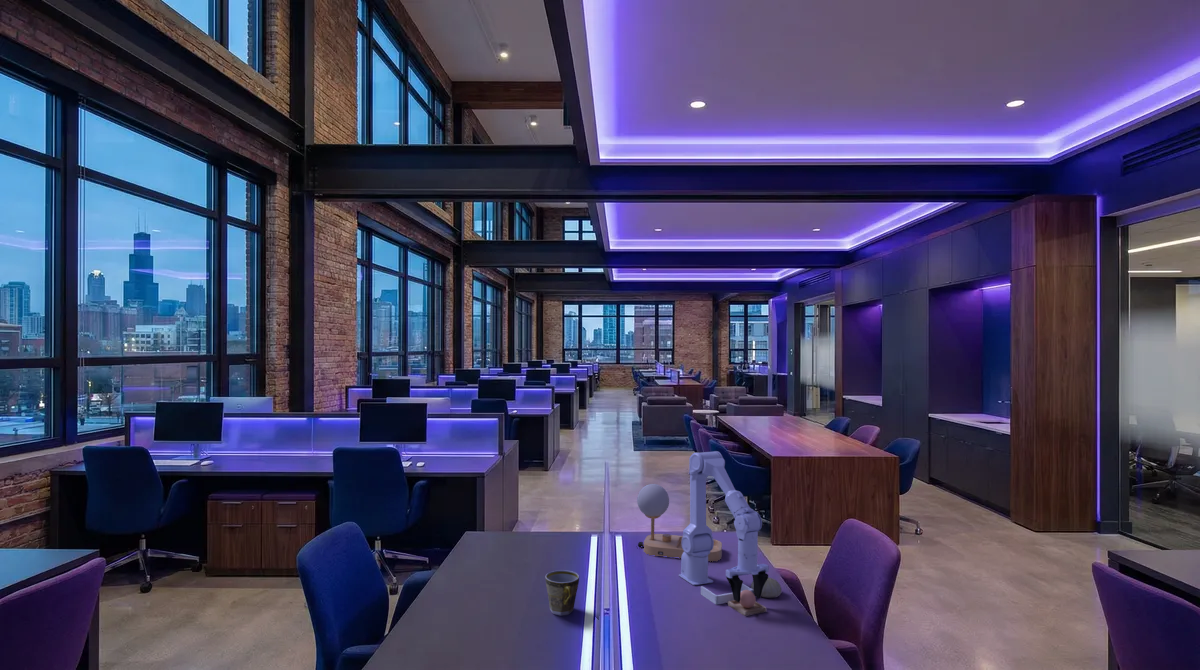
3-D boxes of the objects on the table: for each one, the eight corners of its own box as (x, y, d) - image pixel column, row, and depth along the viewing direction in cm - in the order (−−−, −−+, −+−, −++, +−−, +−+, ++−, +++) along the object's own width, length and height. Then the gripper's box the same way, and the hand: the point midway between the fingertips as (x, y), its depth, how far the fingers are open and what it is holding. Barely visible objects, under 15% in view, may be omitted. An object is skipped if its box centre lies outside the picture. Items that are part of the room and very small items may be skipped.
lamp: (722, 549, 232) (723, 484, 233) (720, 563, 215) (721, 494, 216) (639, 541, 240) (641, 478, 241) (632, 554, 223) (633, 487, 224)
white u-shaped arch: (700, 594, 186) (700, 586, 186) (737, 588, 192) (737, 580, 192) (716, 604, 179) (716, 596, 179) (753, 597, 184) (753, 589, 185)
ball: (735, 605, 178) (735, 588, 178) (748, 602, 180) (748, 586, 180) (745, 612, 173) (745, 595, 173) (759, 609, 175) (759, 592, 175)
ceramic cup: (540, 605, 175) (541, 572, 175) (572, 601, 179) (573, 568, 179) (552, 624, 163) (553, 588, 163) (586, 619, 166) (587, 584, 167)
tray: (727, 605, 178) (728, 601, 178) (749, 601, 182) (749, 597, 182) (744, 616, 171) (744, 611, 171) (766, 611, 174) (766, 607, 174)
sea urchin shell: (785, 595, 183) (767, 575, 184) (767, 611, 183) (748, 591, 185) (782, 584, 191) (764, 565, 193) (764, 599, 192) (747, 580, 194)
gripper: (736, 560, 170) (735, 607, 170) (775, 554, 176) (775, 600, 176) (721, 552, 177) (721, 598, 176) (760, 547, 183) (759, 591, 182)
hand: (747, 598), depth 176 cm, fingers open, 7 cm apart
